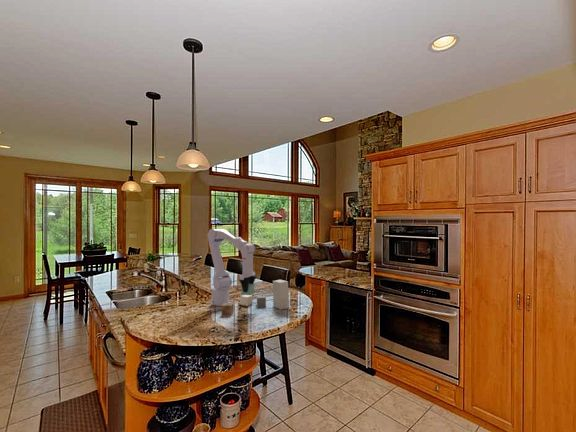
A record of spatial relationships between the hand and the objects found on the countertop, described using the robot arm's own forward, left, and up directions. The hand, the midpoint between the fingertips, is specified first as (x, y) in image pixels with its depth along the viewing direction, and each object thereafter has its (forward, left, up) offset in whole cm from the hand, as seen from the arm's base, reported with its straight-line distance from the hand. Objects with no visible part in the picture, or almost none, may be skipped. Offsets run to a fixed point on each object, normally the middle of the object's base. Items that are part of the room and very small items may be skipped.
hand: (247, 290), depth 162 cm
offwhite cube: (-6, +10, -10) cm, 16 cm away
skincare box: (+15, +11, -11) cm, 21 cm away
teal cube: (0, 0, -2) cm, 2 cm away
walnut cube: (-7, -9, -10) cm, 16 cm away
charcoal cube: (+3, +11, -10) cm, 16 cm away
